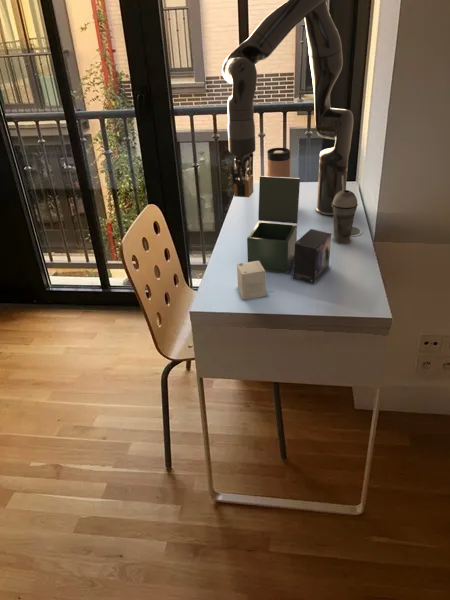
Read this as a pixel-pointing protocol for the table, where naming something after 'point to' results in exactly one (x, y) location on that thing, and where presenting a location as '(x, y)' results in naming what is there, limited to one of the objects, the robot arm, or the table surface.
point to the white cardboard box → (251, 280)
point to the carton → (246, 186)
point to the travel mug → (278, 162)
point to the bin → (272, 245)
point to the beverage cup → (344, 214)
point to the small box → (311, 255)
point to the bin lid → (278, 199)
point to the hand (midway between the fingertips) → (243, 193)
